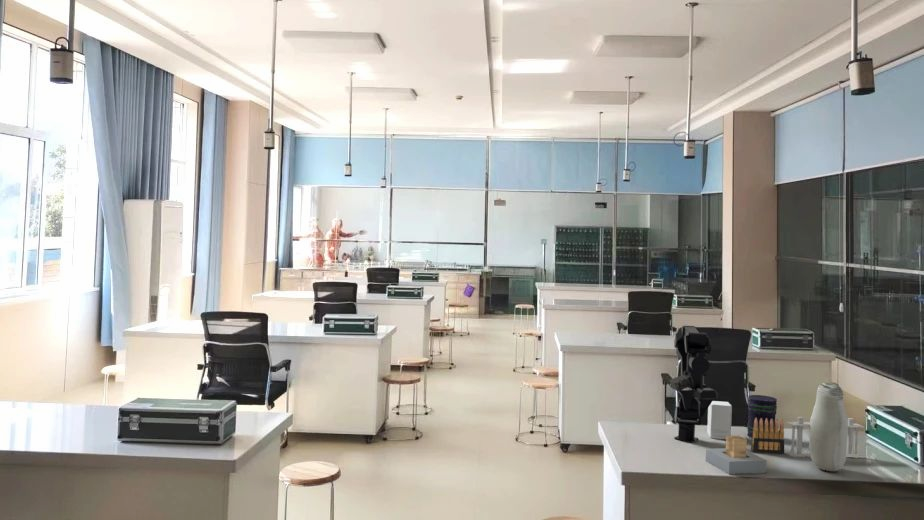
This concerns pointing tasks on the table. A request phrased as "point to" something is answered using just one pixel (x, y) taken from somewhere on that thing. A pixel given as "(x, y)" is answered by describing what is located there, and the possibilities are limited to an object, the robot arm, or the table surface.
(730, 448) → the peg
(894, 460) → the table surface
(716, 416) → the supplement box
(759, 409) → the storage jar
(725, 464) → the socket
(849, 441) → the test tube rack
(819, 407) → the white bottle
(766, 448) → the ammunition clip
